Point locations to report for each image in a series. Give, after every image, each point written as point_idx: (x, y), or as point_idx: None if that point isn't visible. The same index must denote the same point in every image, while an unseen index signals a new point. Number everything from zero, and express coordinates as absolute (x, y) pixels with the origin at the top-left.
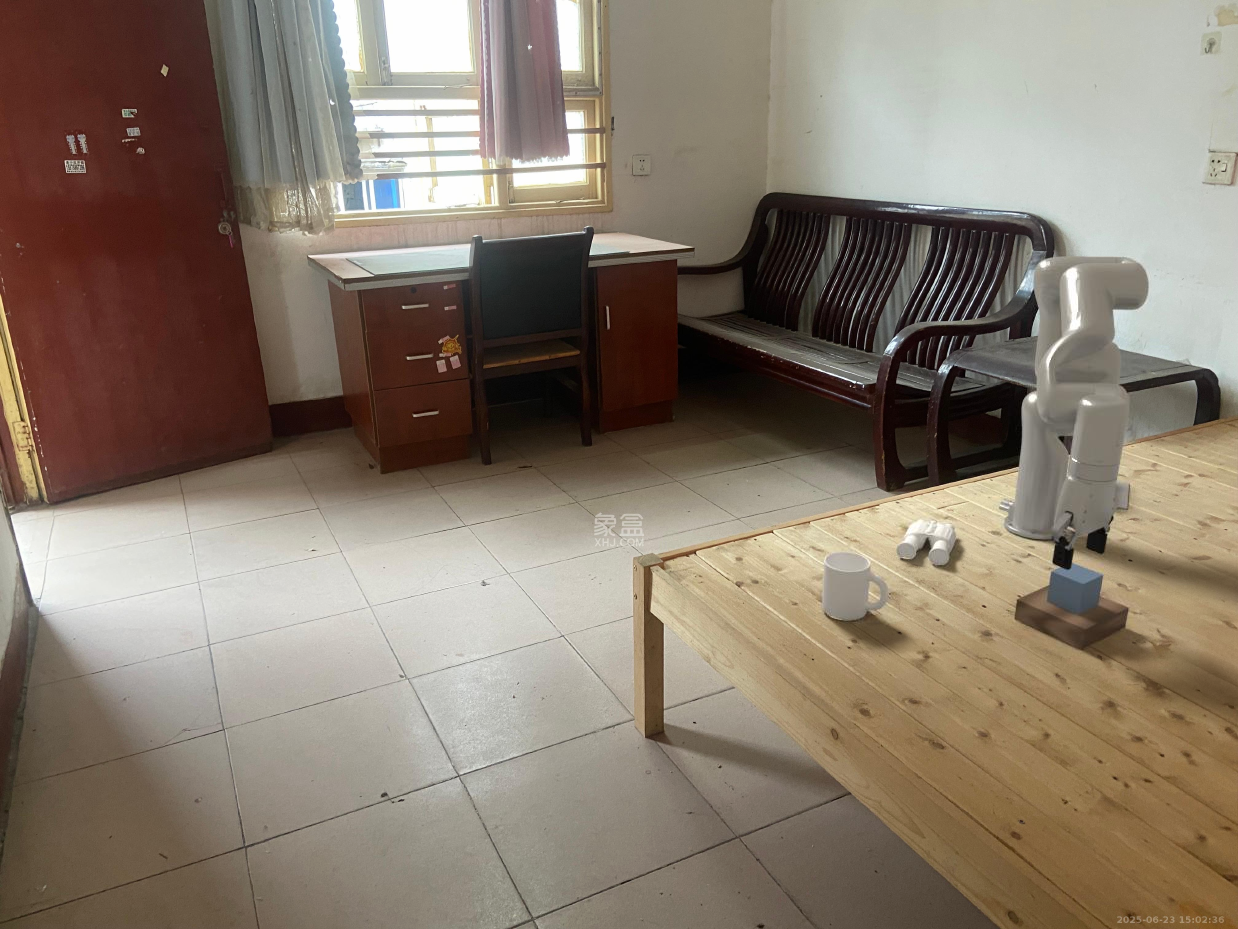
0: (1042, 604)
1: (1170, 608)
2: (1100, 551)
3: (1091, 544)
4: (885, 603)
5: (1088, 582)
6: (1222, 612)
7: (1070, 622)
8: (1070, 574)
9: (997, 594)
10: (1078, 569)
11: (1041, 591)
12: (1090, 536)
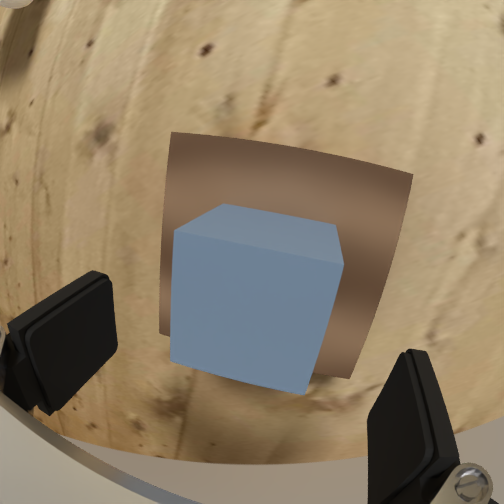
0: (196, 202)
1: (477, 370)
2: (371, 422)
3: (394, 400)
4: (19, 7)
5: (204, 369)
6: (488, 417)
7: (161, 299)
8: (210, 305)
9: (297, 37)
10: (285, 316)
11: (279, 159)
12: (407, 430)
